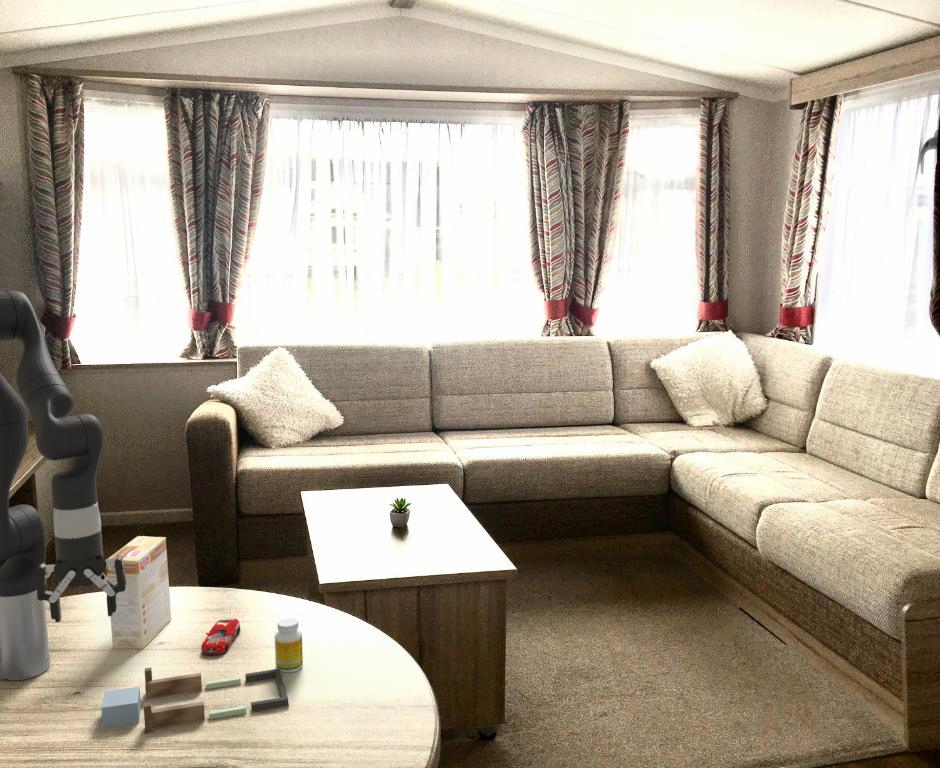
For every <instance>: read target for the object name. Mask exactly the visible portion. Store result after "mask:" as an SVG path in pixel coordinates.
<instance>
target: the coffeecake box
mask: <svg viewBox="0 0 940 768" xmlns="http://www.w3.org/2000/svg"><path fill="white" fill-rule="evenodd" d="M167 552H168V551H167V537H165V536H145V535H142V536H141V535H138V536H136V537H135V538H133V539H132V540H131V541H129V542H128V543H126V544H125V545H124V546H123V547H121V548H120V549H118V551H116V552H115V553H113V554H112V555H111V556H110V557H108V558H107V559H111V558H116V556H118V555H121V556H122V557H123V563H124V570H125V577H126V588H125V591H123V592H119V593H117V594H116V604H117V608H116V611H115V612H114V613H113V615H112V616H109V617H110V626H111V627H110V628H111V630H110V631H111V639H112V641H111V643H112V648H113V649H134V650H135V649H136V650H143V649H144V648H145V647H146V646H147V645H149V643H150V642H151V641H152V640H153V639H154V638H155V637H156V636H157V634H159V633H160V632H161V631H162V630H163V628H165V626H166V625H168V623H169V622H171V620H172V614H171V613H172V611H171V610H172V609H171V598H170V597H171V596H170V595H171V594H170V583H169V568H168V553H167ZM105 569H106V576H107V577H108V579H109V580H110V581H111V582H112V583H113V584H114V585H115V584H117V577H116V571H112V570H111V568H110V567H109V566H106V568H105Z"/></svg>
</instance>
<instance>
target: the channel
mask: <svg viewBox="0 0 940 768" xmlns="http://www.w3.org/2000/svg"><path fill="white" fill-rule="evenodd" d="M152 671H153V670H152V666H151V667H145V668H144V679H145V680H144V682H145V683H144V686H145V699H146V700H149V699H155V698H156V699H157V698H163V697H169V696H174V695H175V696H176V695H182V694H187V693H193V692H194V693H195V692H201V691H202V690H203V683H202V672H197V673H191V674H184V675H177V676H172V677H171V676H170V677H165V678H159V679H157V678H156V679H153V672H152ZM205 717H206V716H205V701H197V702H191V703H185V704H179V705H178V704H177V705H172V706H167V707H159V708H155V709H152V702H145V703H143V718H144V720H143V721H144V731H145V734H150V733H154V732H153V729H159V728H167V727H171V726H179V725H183V724H189V723H195V722H196V723H197V722H202V721H205V720H206V718H205Z"/></svg>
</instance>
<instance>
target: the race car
mask: <svg viewBox="0 0 940 768" xmlns="http://www.w3.org/2000/svg"><path fill="white" fill-rule="evenodd" d="M240 632H241V624H240V621H239V619H237V618H233V617H231V618H229V617H225V618H222V619H219V620H217V621H216V622H215V624H214V625H213V626H212V628H211V629H210V630H209V632H205V635H206V637H205V639H204V640H203V641H202V644H201V649H200V650H201V653H202V654H204V655H209V656H212V655H213V656H215V655H217V656H218V655H221V654H226V653H227V652H228V651H229V648H230V647H231V646H232V645H233V643H234V642H235V640H236V638H237V637H239V635H240Z"/></svg>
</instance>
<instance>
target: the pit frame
mask: <svg viewBox="0 0 940 768" xmlns="http://www.w3.org/2000/svg"><path fill="white" fill-rule="evenodd" d="M244 675H245V683H246V684H247V683H253V682H261V681H265V680H266V681H268V680H273V679H275V682H276V685H277V689H278V692H279V696H280V697H276V698H269V699H263V700H257V701H252V702H250V708H251V713H255V712H256V713H257V712H261V711H268V710H273V709H278V708H286V707H290V706H289V702H290V701H289V696H288V693H287V689H286V686H285V683H284V678H283V675H282V672H281V671H280V669H276V668H274V669H267V670H261V671H255V672H254V671H253V672H250V673H249V672H248V673H245V674H244Z"/></svg>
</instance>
